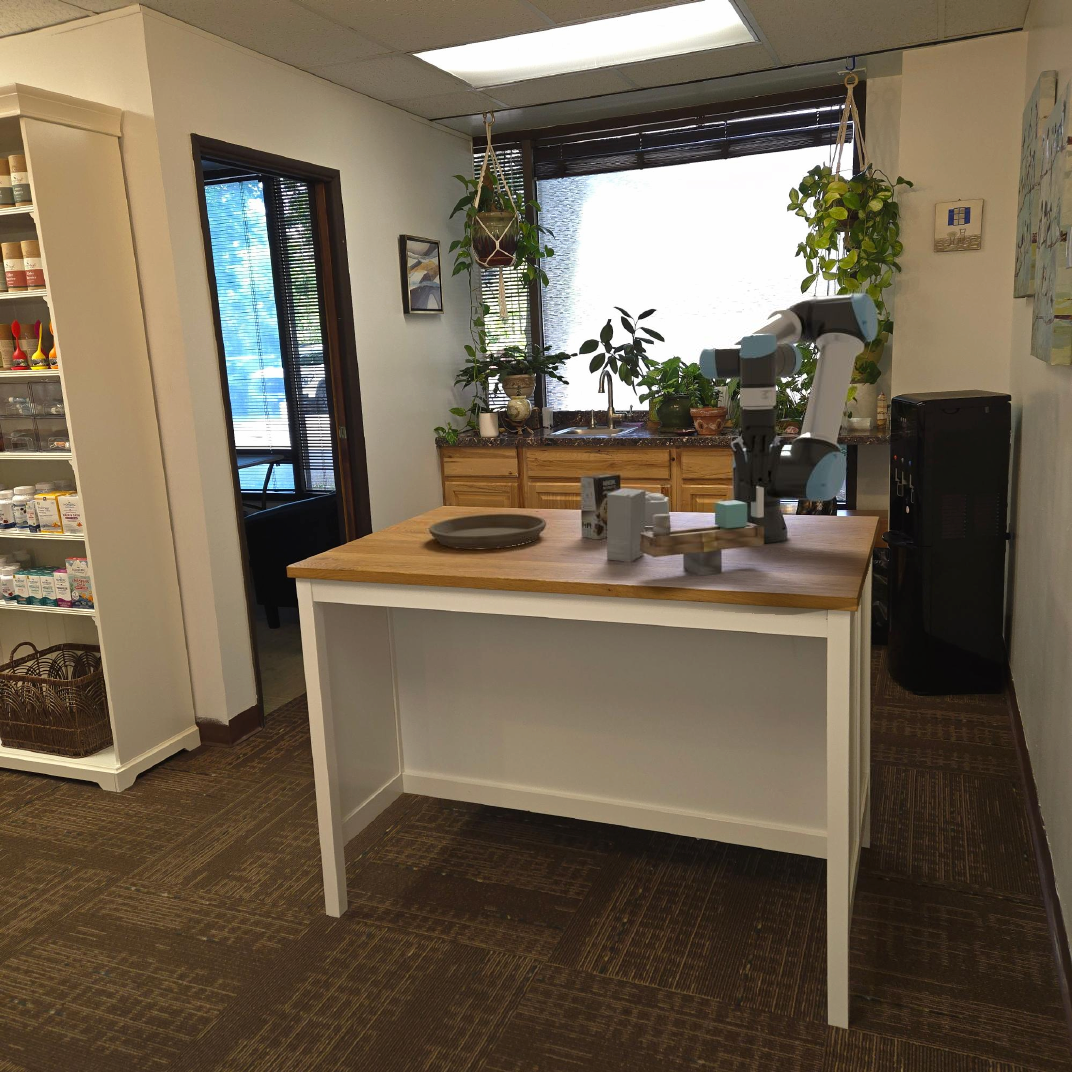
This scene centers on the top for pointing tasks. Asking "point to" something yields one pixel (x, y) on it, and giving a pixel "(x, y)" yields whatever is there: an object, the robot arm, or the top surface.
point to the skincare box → (625, 524)
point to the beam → (698, 543)
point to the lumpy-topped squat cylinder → (655, 506)
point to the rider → (730, 514)
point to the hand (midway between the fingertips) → (757, 516)
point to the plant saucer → (488, 530)
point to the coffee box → (596, 503)
